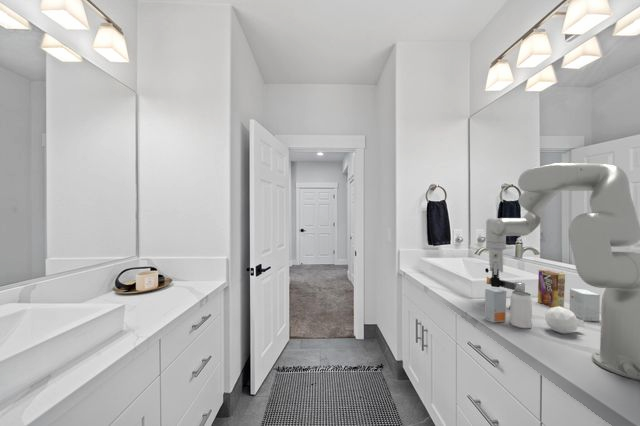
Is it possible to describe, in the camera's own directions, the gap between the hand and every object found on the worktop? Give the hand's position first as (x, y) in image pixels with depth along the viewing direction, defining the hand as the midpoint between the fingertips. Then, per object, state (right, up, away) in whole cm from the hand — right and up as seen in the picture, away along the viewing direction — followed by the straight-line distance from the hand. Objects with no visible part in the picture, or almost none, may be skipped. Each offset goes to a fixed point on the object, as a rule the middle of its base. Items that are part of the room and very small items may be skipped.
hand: (495, 286), depth 125 cm
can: (-4, -9, -22) cm, 24 cm away
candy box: (+26, -9, +1) cm, 27 cm away
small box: (+27, -9, -13) cm, 32 cm away
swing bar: (+4, -1, -1) cm, 4 cm away
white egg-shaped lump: (+7, -9, -28) cm, 30 cm away
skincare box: (-11, -9, -18) cm, 23 cm away
